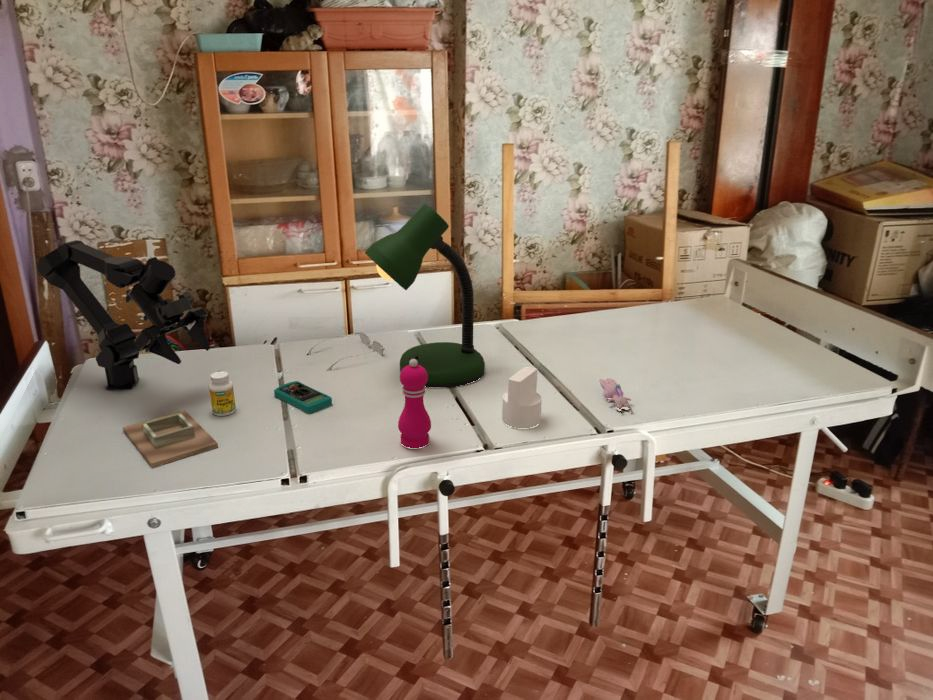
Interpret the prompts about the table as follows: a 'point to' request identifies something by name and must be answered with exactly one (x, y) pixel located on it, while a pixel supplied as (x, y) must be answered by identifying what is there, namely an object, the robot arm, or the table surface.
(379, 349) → the eyeglasses
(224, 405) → the supplement bottle
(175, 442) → the bottle holder
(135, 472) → the table surface
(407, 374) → the pepper mill
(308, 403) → the digital multimeter
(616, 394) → the rabbit figure
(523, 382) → the cylinder with rectangular tab
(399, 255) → the desk lamp
